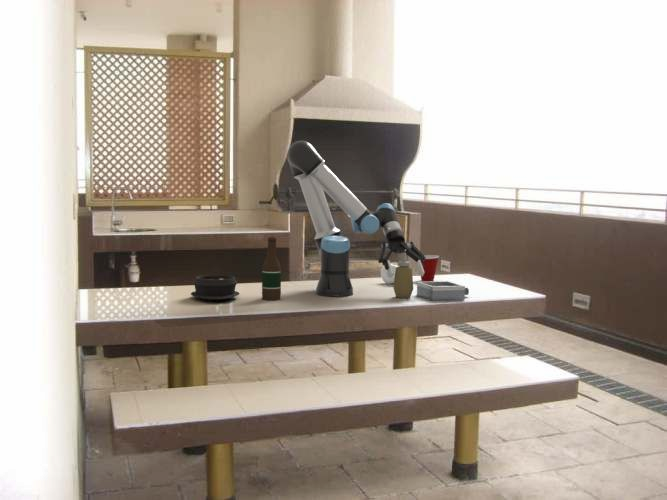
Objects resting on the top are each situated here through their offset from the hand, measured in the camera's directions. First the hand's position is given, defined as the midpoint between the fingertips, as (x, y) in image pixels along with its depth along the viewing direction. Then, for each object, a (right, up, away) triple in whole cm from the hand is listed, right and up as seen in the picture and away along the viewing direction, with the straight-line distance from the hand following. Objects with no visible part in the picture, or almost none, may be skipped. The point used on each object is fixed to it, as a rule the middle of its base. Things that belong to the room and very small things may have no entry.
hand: (407, 275), depth 271 cm
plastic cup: (+15, -5, +53) cm, 55 cm away
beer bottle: (-54, -9, -9) cm, 55 cm away
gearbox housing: (+16, -9, +3) cm, 19 cm away
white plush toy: (-2, -6, +41) cm, 42 cm away
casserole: (-75, -9, -11) cm, 77 cm away
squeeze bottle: (-2, -9, +1) cm, 9 cm away
